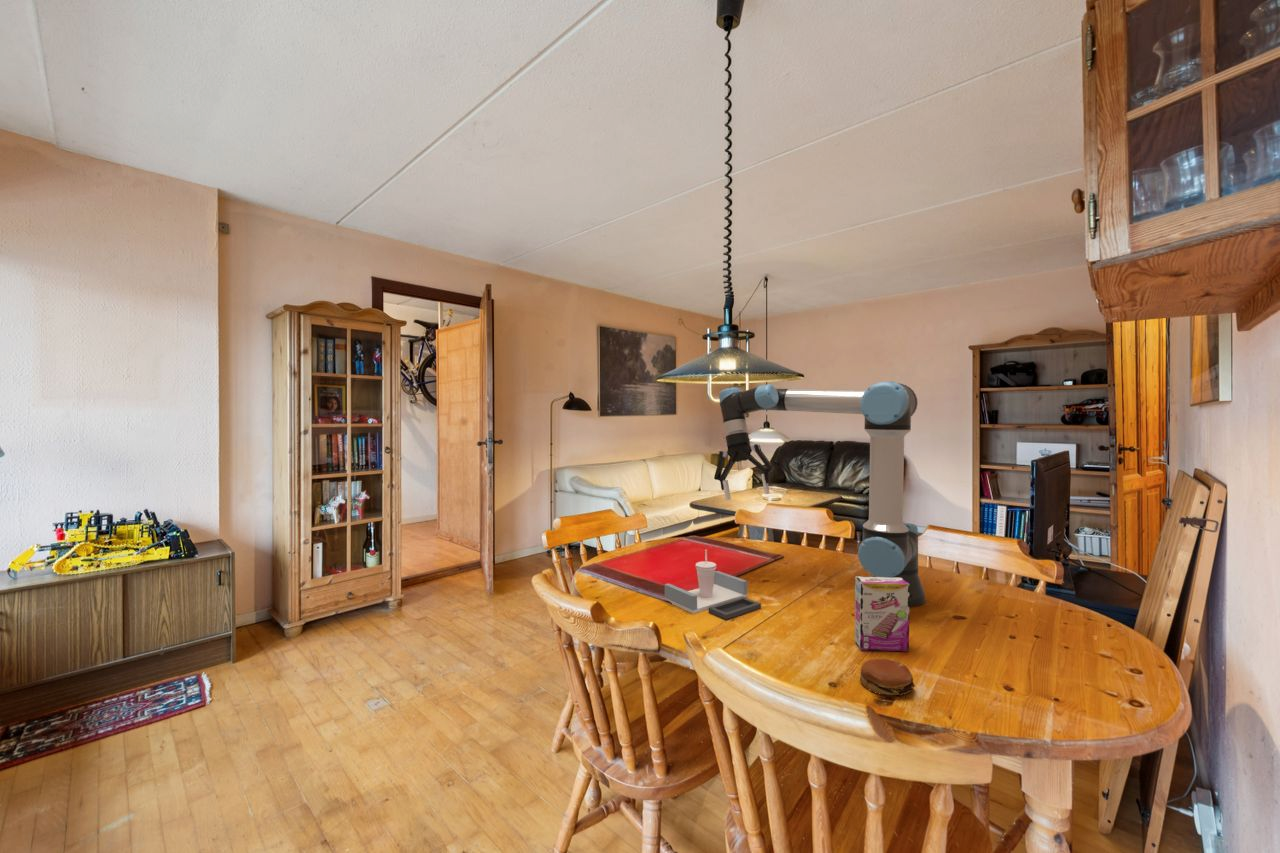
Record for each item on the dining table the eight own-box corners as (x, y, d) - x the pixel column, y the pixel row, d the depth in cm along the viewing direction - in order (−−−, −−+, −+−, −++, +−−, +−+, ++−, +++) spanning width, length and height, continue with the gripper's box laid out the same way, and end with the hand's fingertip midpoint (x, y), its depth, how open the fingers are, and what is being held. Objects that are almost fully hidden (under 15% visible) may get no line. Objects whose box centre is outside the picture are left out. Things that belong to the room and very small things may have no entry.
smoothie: (718, 593, 157) (717, 548, 157) (714, 600, 151) (714, 553, 151) (698, 591, 159) (697, 546, 159) (693, 598, 153) (692, 552, 153)
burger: (851, 683, 105) (851, 661, 105) (877, 670, 110) (877, 649, 110) (897, 706, 97) (897, 681, 97) (923, 691, 102) (923, 668, 102)
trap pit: (760, 608, 146) (760, 603, 146) (726, 620, 138) (726, 615, 138) (742, 601, 152) (742, 596, 152) (708, 612, 144) (708, 607, 144)
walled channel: (747, 596, 156) (747, 580, 156) (693, 613, 143) (692, 596, 143) (717, 585, 167) (717, 570, 167) (664, 600, 154) (664, 584, 154)
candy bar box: (861, 651, 119) (860, 582, 119) (854, 642, 124) (853, 575, 124) (910, 653, 118) (910, 583, 118) (902, 643, 123) (901, 576, 122)
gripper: (776, 427, 167) (788, 491, 163) (707, 441, 180) (717, 501, 176) (768, 425, 161) (781, 491, 157) (698, 440, 173) (708, 502, 170)
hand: (747, 497), depth 166 cm, fingers open, 13 cm apart
